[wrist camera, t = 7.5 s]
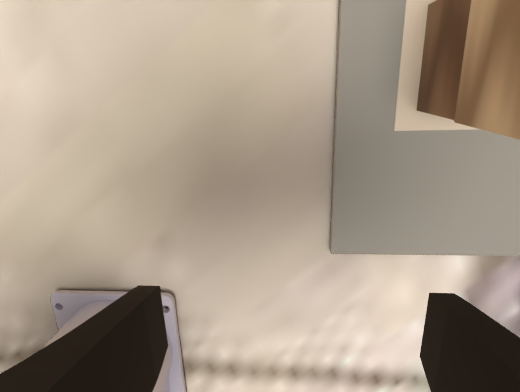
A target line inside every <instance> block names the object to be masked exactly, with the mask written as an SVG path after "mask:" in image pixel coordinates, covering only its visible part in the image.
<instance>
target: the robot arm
mask: <svg viewBox="0 0 520 392" xmlns="http://www.w3.org/2000/svg"><path fill="white" fill-rule="evenodd" d="M50 300H51V303H52V307H53V311H54V315H55V319H56V323H57V326H58V330H59V331H58V332H57V333H56V334H55V335H54V336H53V337H52V339H51V340H50V341H49V342H48V343H47V344H46V345H45V346H44V347H43V348H42V349H41V350H40V351H38V352H37V353H35V354H33V355H32V356H30V357H29V358H27V359H25V360H24V361H22V362H20V363H18V364H17V365H15V366H13V367H11V368H10V369H8V370H6V371H4V372H3V373H1V374H0V392H186V386H185V379H184V371H183V363H182V355H181V347H180V339H179V331H178V324H177V316H176V308H175V300H174V297H173V296H172V295H171V294H170V293H166V292H160V286H137V287H136V288H134V289H132V290H131V291H129V292H123V291H76V290H57V291H55V292H54V293H53V294H52V295H51V297H50ZM60 304H61V305H62V306H61V305H60ZM164 306H168V307H169V309H166V308H165V307H164ZM420 358H421V361H422V365H423V368H424V371H425V374H426V378H427V381H428V384H429V387H430V390H431V392H520V338H519V337H518V336H516V335H515V334H513V333H512V332H511V331H509V330H508V329H506V328H505V327H503V326H502V325H500V324H499V323H498V322H496V321H495V320H493V319H492V318H490V317H489V316H487V315H486V314H485V313H483V312H482V311H480V310H479V309H477V308H476V307H474V306H473V305H471V304H470V303H468V302H467V301H465V300H464V299H462V298H461V297H459V296H457V295H456V294H452V293H429V299H428V306H427V312H426V319H425V326H424V332H423V339H422V346H421V352H420Z"/></svg>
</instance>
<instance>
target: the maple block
mask: <svg viewBox="0 0 520 392" xmlns="http://www.w3.org/2000/svg"><path fill="white" fill-rule="evenodd" d="M454 122H455V123H459V124H462V125H466V126H470V127H474V128H477V129H481V130H485V131H489V132H492V133H496V134H500V135H503V136H507V137H511V138H515V139H518V140H520V0H471V6H470V13H469V20H468V27H467V35H466V42H465V49H464V56H463V63H462V70H461V77H460V84H459V91H458V98H457V105H456V112H455V119H454Z"/></svg>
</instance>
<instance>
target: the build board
mask: <svg viewBox="0 0 520 392" xmlns="http://www.w3.org/2000/svg"><path fill="white" fill-rule="evenodd" d="M435 1H436V0H339V20H338V46H337V72H336V99H335V125H334V151H333V178H332V204H331V230H330V252H331V254H394V255H484V256H520V140H518V139H515V138H511V137H507V136H503V135H500V134H496V133H492V132H489V131H485V130H481V129H477V128H474V127H470V126H466V125H462V124H459V123H455V122H454V120H452V119H448V118H444V117H440V116H436V115H432V114H428V113H424V112H420V111H417V102H418V93H419V84H420V75H421V66H422V57H423V48H424V39H425V30H426V21H427V12H428V5H429V4H431V3H433V2H435Z"/></svg>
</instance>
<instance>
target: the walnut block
mask: <svg viewBox="0 0 520 392" xmlns="http://www.w3.org/2000/svg"><path fill="white" fill-rule="evenodd" d="M470 6H471V0H436V1H435V2H433V3H431V4H429V5H428V12H427V21H426V30H425V39H424V48H423V57H422V66H421V75H420V84H419V93H418V102H417V111H420V112H424V113H428V114H432V115H436V116H440V117H444V118H448V119H452V120H454V119H455V112H456V105H457V98H458V91H459V84H460V77H461V70H462V63H463V56H464V49H465V42H466V35H467V27H468V20H469V13H470Z"/></svg>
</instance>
